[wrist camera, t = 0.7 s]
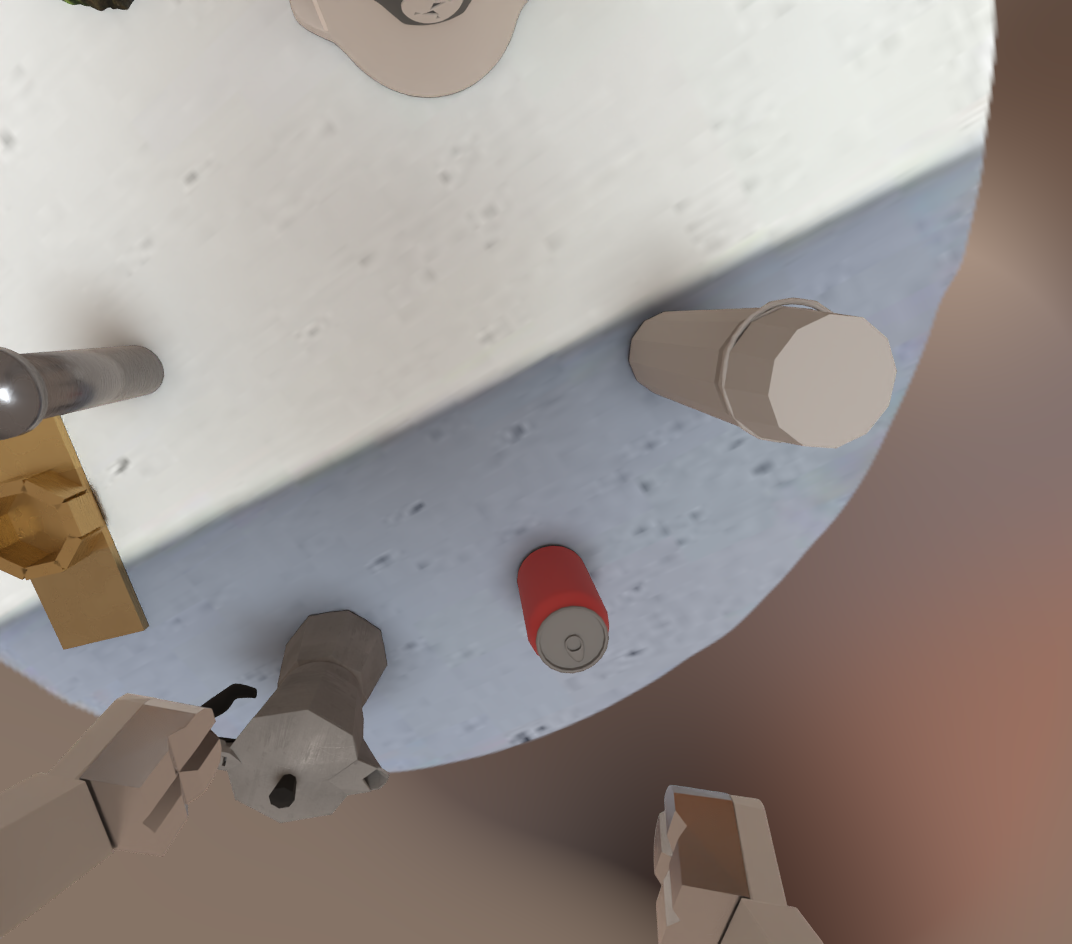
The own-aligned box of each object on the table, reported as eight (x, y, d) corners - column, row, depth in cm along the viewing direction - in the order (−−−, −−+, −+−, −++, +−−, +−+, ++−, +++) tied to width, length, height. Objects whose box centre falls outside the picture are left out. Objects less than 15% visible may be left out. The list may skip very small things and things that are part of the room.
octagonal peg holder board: (-55, 391, 48) (-99, 397, 44) (46, 370, 48) (11, 374, 44) (64, 645, 54) (35, 669, 50) (153, 624, 54) (130, 647, 50)
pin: (91, 345, 48) (-87, 357, 33) (157, 331, 48) (12, 336, 33) (117, 409, 49) (-43, 449, 34) (181, 395, 50) (51, 429, 34)
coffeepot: (419, 623, 57) (398, 757, 39) (396, 709, 59) (366, 873, 41) (250, 587, 54) (147, 713, 37) (231, 678, 56) (124, 839, 39)
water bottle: (631, 404, 54) (763, 474, 30) (619, 314, 52) (751, 310, 28) (730, 386, 54) (939, 439, 30) (722, 296, 52) (939, 276, 28)
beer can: (529, 617, 58) (545, 691, 46) (506, 557, 56) (517, 618, 45) (594, 594, 58) (625, 662, 46) (573, 533, 56) (601, 588, 45)
